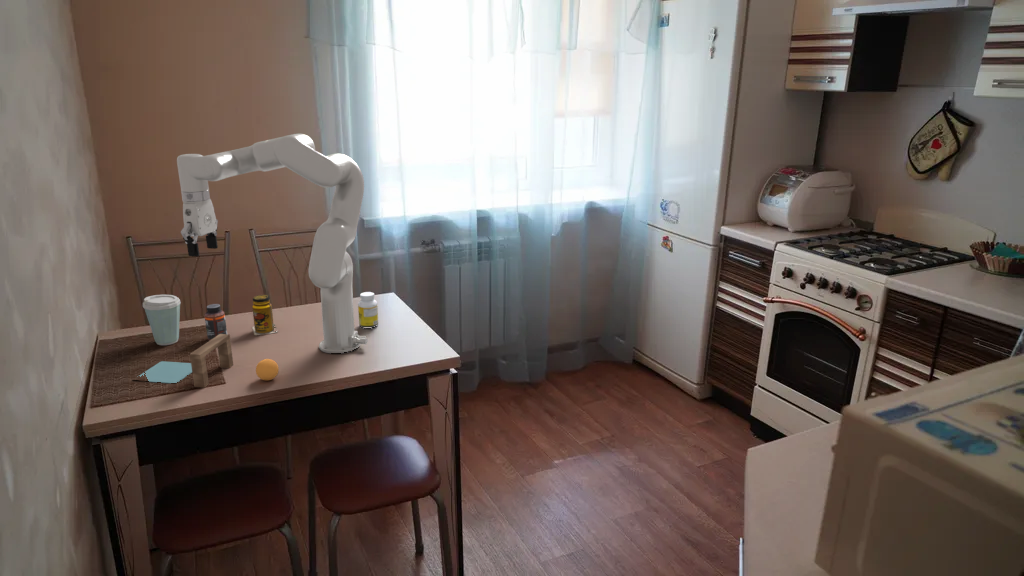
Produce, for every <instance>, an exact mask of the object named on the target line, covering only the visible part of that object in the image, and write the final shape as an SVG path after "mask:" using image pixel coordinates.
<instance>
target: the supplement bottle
mask: <svg viewBox="0 0 1024 576" xmlns="http://www.w3.org/2000/svg"><path fill="white" fill-rule="evenodd" d="M226 321H227V320H226V314H225V311H224V310H222V309H221V305H220V304H219V303H212V304H209V305H208V304H207V306H206V312H205V314H204V322H205V328H206V336H207V340H208V342H209V341H210V340H212V339H213V338H214V337H216V336H217V335H219V334H228V329H227V322H226Z"/></svg>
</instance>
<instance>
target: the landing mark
mask: <svg viewBox="0 0 1024 576" xmlns="http://www.w3.org/2000/svg"><path fill="white" fill-rule="evenodd" d="M144 372H145V373H146V374H145V373H144ZM144 372H142V373H141V374H140V375H138V376H140V377H141V376H142V375H143V376H144V374H145V375H146V377H147V379H148V381H149V382H148V383H157V382H161V384H171V383H177V382H178V383H179V382H181V381H182V380H183V379H185V378H186V377H188V376H189V375H191V374H192V366H191V362H178V361H164V360H162V361H159V362H158V363H156V364H155V365H153V366H151V367H150V368H148V369H147V370H145V371H144ZM187 375H188V376H187ZM180 380H181V381H180ZM178 383H177V384H178Z"/></svg>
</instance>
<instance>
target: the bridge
mask: <svg viewBox="0 0 1024 576" xmlns="http://www.w3.org/2000/svg"><path fill="white" fill-rule="evenodd" d="M215 349H217V354H218V360H219V368H221V369H222V368H225V369H231V368H232V367H233V366H234V358H233V352H232V343H231V335H230V334H228V333H227V334H219V335H217V336H216V337H214V338H213V339H212V340H210V341H209V340H208V341H207V342H206V343H204V344H202V345H201V346H199V347H198V348H197V349H195V350H194V351H192V352H190V353H189V359H190V363H191V366H192V373H191V374H192V379H193V385H194V386H193V387H194V388H203V389H205V388H206V387H208V386H207V385H208V384H209V375H208V370H207V369H208V368H207V362H206V361H207V360H206V356H207V355H209V354H210V353H212V351H214V350H215Z"/></svg>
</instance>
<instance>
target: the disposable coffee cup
mask: <svg viewBox="0 0 1024 576" xmlns="http://www.w3.org/2000/svg"><path fill="white" fill-rule="evenodd" d="M181 303H182V302H181V299H180V298H179V297H177V295H173V294H155V295H150V296H146V297H145V298H144V299H143V302H142V308H143V309H144V311H145V314H146V317H147V320H148V324H149V327H150V329H151V332H152V337H153V338H154V342H155V343H156V345H159V346H169V345H173V344H175V343H177V342H178V341H179V338H180V315H181V312H180V311H181Z"/></svg>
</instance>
